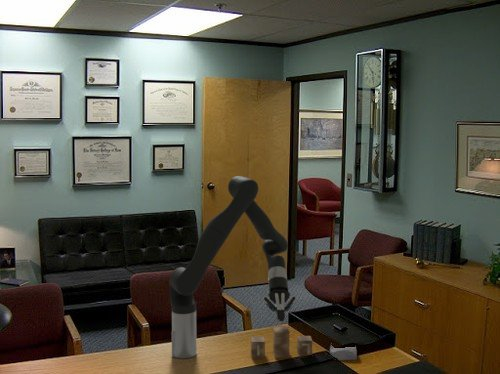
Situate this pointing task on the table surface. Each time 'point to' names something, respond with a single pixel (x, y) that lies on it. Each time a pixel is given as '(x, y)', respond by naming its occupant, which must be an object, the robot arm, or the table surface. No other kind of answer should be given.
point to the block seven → (304, 345)
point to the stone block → (344, 353)
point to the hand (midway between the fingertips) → (281, 320)
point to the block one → (257, 347)
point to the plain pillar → (281, 342)
